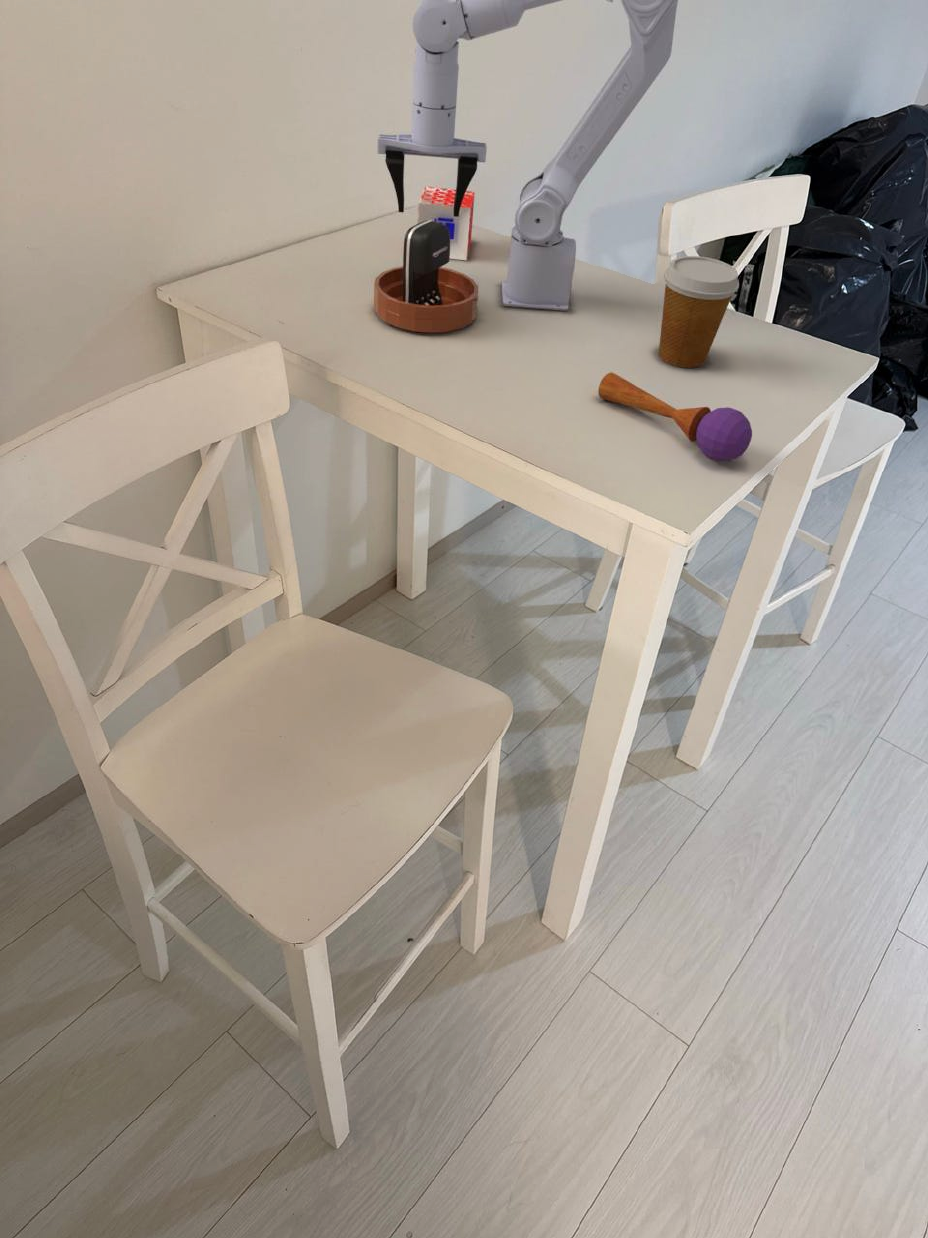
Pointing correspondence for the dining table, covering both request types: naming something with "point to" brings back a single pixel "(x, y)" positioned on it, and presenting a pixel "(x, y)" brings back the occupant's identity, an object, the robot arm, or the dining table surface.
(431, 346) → the dining table surface
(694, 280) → the disposable coffee cup
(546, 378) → the dining table surface
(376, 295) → the bowl
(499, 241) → the dining table surface
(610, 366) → the dining table surface
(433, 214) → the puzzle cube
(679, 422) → the kendama
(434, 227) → the battery charger
